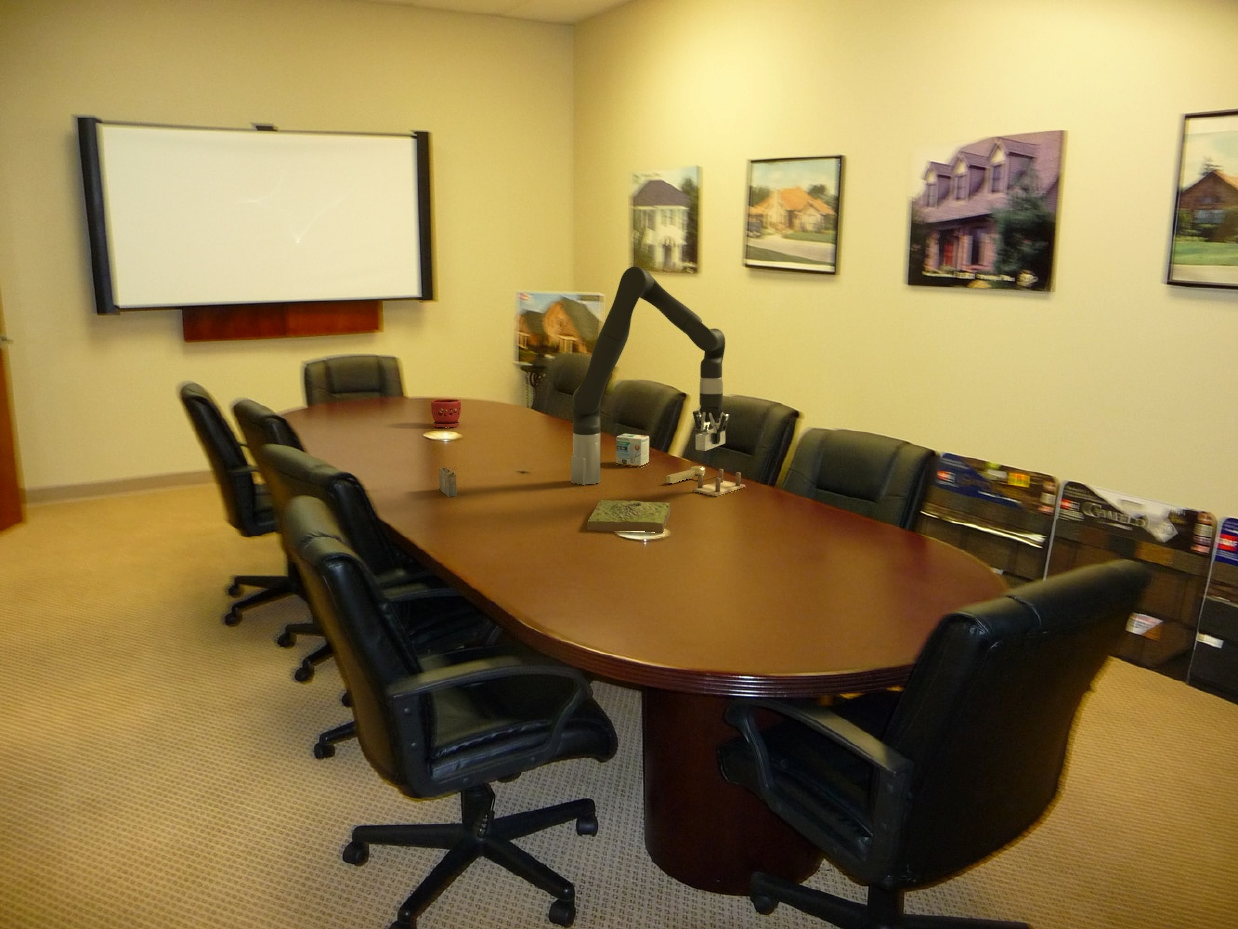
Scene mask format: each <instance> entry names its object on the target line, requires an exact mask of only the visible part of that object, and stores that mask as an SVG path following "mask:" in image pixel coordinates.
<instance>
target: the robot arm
mask: <svg viewBox="0 0 1238 929" xmlns="http://www.w3.org/2000/svg"><path fill="white" fill-rule="evenodd" d="M619 280H620V281H619V284H618V288H617V291H616V294H615V296H614V300H613V302H612V304H611V307H610V310H609V311H608V314H607V316H606V318H605V321H604V322H603V326H602V327H601V329H600V332H599V333H598V337H597V339H596V341H595V345H594V347H593V350H592V354H591V356H590V360H589V361H590V362H589V365H588V368H587V371H586V373H585V374H584V375H585V376H584V378H583V380H582V381H581V383H580V384H579V386H578V387H577V388H576V389H575V390H574V392H573V395H572V433H573V434H572V455H570V468H571V469H570V481H571V482H570V483H571V484H575V483H577V484H576V485H579V484H582V485H581V486H583V485H584V486H586V485H585V484H594V485H596V484H595V483H598V484H600V483H601V403H602V398H603V395H604V390H605V388H606V385H607V382H608V380H609V378H610V376H611V374H612V372H613V370H614V369H615V367H616V365H617V363H618V361H619V360H620V357H621V355H622V353H623V351H624V348H625V346H626V344H627V342H628V338H629V336H630V329H631V322H632V316H633V312H634V310H635V307H636V305H637V303H638V302H639V299H641V300H644V301H645V302H647V303H649V304H650V305H652V306H653V307H655V308H656V309H657V310H659V311H660V313H661V314H662V315H663V316H664V317H666V319H667V320H668V321H669V322H671V324H673V325H674V326H675V327H676V328H678V329H679V330H680V331H681V332H682V333H684V334H686V335H687V336H688V338H689V339H690V340H691V341H692V342H693V344H695V346H696V347H697V348H699V349H700V350H702V351H703V352H704V355H703V359H702V360H701V362H700V368H699V370H700V371H699V372H700V374H699V375H700V376H699V378H700V379H699V380H700V381H699V398H698V399H699V406H700V408H699V409H698V410H694V411H692V415H693V420H694V422H695V426H696V429H698V430H699V431H700V433H701V432H704V431H707V430H709V425H711V427H712V429H713V430H714V434H713V444H715V445H716V444H719V442H720V433H721V432H723V431H725V432H726V431H727V427H728V423H729V421H730V416H731V415H730V414H728V413H727V414H725V412H723V408H722V407H723V402H724V401H723V400H724V399H723V397H724V394H723V393H724V383H723V362H724V355H725V351H726V350H725V349H726V338H725V333H723V331H722V330H721V329H719V328H709V327H708V326H706V325H705V324H704V323H703V320H702V318H701V317H700V316H699V315H698V314H697V313H695V312H694V311H692V309H690V308H689V307H688V306H686V305H685V304H683V303H682V302H681V301H680V300H678V299H677V298H676V297H674V296H672V294H670V293H669V292H668V291H667V290H665V289H664V288H663V287H662V286H661V285H660V284H659V282H658V281H657V280H656V279H655V278H654V277H653V276H652V274H651V273H650V272H649V271H648V270H646V269H644V268H642V267H640V266H631V267H628V268H626V270H625V271H624V272H623V273H622V275H621V278H620V279H619Z"/></svg>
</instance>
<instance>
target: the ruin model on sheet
mask: <svg viewBox="0 0 1238 929" xmlns="http://www.w3.org/2000/svg"><path fill="white" fill-rule="evenodd" d="M457 470H458V468H456V466H454V467H453V468H452V470H450V469H449V468H448V467H439V469H438V475H439V476H438V478H439V490H440V491H441V492H442V493H443V494H444V493H445V496H447V497H448V498H452V497H451V496H457V495H458V494H457V493H458V492H457V474H456V473H455V472H456V471H457Z"/></svg>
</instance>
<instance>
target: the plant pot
mask: <svg viewBox="0 0 1238 929" xmlns="http://www.w3.org/2000/svg"><path fill="white" fill-rule="evenodd" d="M430 407H431V408H430V409H431V417H432V418H433V421H434V422H433V423H432V424H433V426H434V427H435V426H436V427H435V428H438V427H447V428H448V427H454V428H457V427H458V426H460V421H459V419H460V417H461V410H462V401H461V400H459V399H454V398H452V399H451V398H440V399H433V400H431V401H430ZM456 426H457V427H456ZM447 428H446V429H447ZM448 429H449V428H448Z"/></svg>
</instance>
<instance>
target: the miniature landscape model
mask: <svg viewBox="0 0 1238 929" xmlns="http://www.w3.org/2000/svg"><path fill="white" fill-rule="evenodd" d="M671 507H672V506H671V502H665V501H663V502H659V501H657V502H656V501H639V500H634V499H633V500H630V499H629V500H608V499H600V500H599V501H598V502H597V505H596V506H595V508H594V510H593V512H592V513H591V515H590V516H589V517H588V520H587V526H586V530H587V531H591V530H598V531H599V532H611V531H645V532H655V533H663V532H665V530H664V529H666V527H667V524H668V521H669V519H670V518H669V517H670V515H671V512H672V510H671ZM666 523H667V524H666ZM665 526H666V527H665ZM598 531H597V532H598ZM663 534H664V533H663Z"/></svg>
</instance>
